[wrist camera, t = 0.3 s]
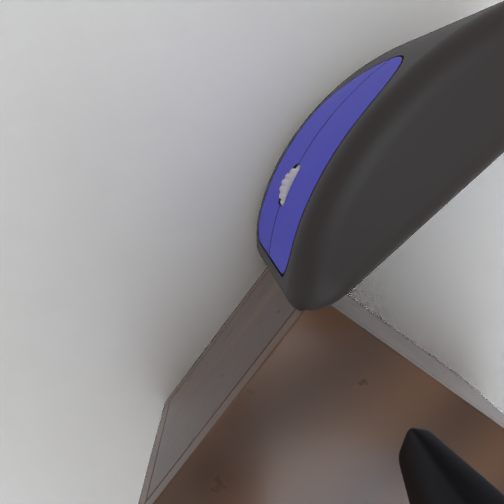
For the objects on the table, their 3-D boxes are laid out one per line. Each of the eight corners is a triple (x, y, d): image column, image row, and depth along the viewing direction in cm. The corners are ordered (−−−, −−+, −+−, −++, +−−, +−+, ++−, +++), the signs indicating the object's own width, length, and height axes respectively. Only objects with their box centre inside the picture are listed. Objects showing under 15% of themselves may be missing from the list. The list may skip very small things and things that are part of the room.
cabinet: (461, 377, 26) (585, 485, 17) (344, 513, 27) (402, 678, 18) (281, 247, 23) (316, 294, 15) (164, 403, 25) (130, 533, 16)
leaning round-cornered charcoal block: (441, -19, 21) (637, -139, 12) (486, 56, 22) (693, 0, 13) (212, 203, 22) (228, 250, 13) (268, 260, 23) (317, 337, 14)
